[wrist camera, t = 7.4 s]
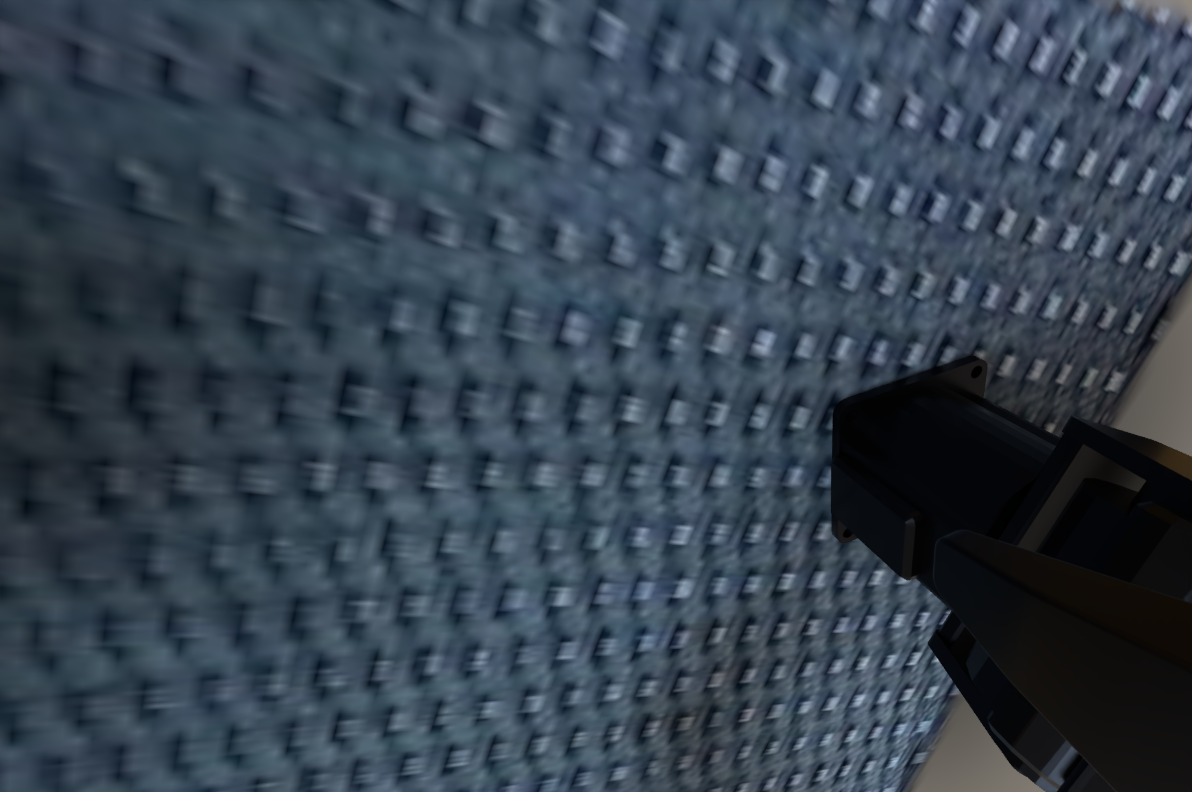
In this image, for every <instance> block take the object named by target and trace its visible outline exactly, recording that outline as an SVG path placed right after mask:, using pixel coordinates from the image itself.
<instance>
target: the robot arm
mask: <svg viewBox="0 0 1192 792" xmlns="http://www.w3.org/2000/svg"><path fill="white" fill-rule="evenodd" d="M986 375H987V363H986V361H984V360H982V359H980V358H978V357H975V356H969V357H966V358H963V359H960V360H957V361H955V362H952V363H949V364H946V365H943V366H940V367H937V368H934V369H931V370H928V371H925V372H922V373H920V374H917V375H914V376H911V377H908V378H905V379H902V380H899V381H896V382H893V383H890V384H888V385H885V386H882V387H879V388H876V389H873V390H870V391H867V392H864V393H861V394H858V395H856V396H853V397H850V398H847V399H844V400H842V401H840V402H839V403H838V404H837V405H836V407H835V409H834V411H833V432H832V464H831V513H832V534H833V535H834V536H835V537H836V538H837V539H838V540H839V541H840V542H842V543H846V542H850V541H852V540H855V539H857V538H858V539H859V540H861V541H862V542H863V543H864V544H865V545H866V546H867V547H868V548H869V549H870V550H871V551H873V552H874V553H875V554H876V555H877V556H878V557H879V558H880V559H881V560H882V561H883V562H885V563H886V564H887V565H888V566H889V567H890V568H891V569H892V570H893V571H894V572H895V573H897V574H898V575H899V576H900V577H902V578H904V579H906V580H911V579H914V578H916V579H917V580H918V581H920V582H921V583H922V584H923V585H924V586H925V587H926V588H927V589H929V590H930V591H931V592H932V593H933V594H934V595H935V596H936V597H937V598H939V599H940V600H941V601H942V602H943V603H944V604H945V605H946V606H948V607H949V608H950V609H951V610H952V611H951V612H950V614H949V616H948V617H947V619H946V620H945V622H944V623H943V625H942V627H941V628H940V629H937V630H935V632H934V633H933V635H932V637H931V638H930V640H929V641H928V645H929V647H930V648H931V650H932V651H933V653H934V654H935V655H936V657H937V658H938V660H939V661H940V663H941V664H942V666H943V667H944V669H945V670H946V672H947V673H948V675H949V676H950V678H951V679H952V680H953V682H954V683H955V685H956V686H957V688H958V689H959V691H960V692H961V694H962V695H963V697H964V698H965V700H966V701H967V702H968V704H969V705H970V707H971V708H972V710H973V711H974V713H975V714H976V716H977V717H978V718H979V720H980V722H981V723H982V724H983V726H984V727H985V729H986V730H987V732H988V733H989V735H990V736H991V738H992V739H993V740H994V742H995V743H996V745H997V746H998V747H999V748H1000V750H1001V751H1002V753H1003V754H1004V756H1005V757H1006V758H1007V760H1008V761H1009V763H1010V764H1011V765H1012V766H1013V768H1014V769H1016V770H1017V771H1018V772H1019V773H1021V774H1023V775H1024V776H1026V777H1028V778H1029V779H1030V780H1031V781H1032V782H1034V783H1035V784H1036V785H1037V786H1039V787H1040V788H1042V789H1043V790H1044V791H1046V792H1192V457H1191V456H1189V455H1187V454H1184V453H1182V452H1180V451H1178V450H1175V449H1173V448H1171V447H1168V446H1166V445H1164V444H1162V443H1159V442H1157V441H1154V440H1151V439H1148V438H1145V437H1142V436H1138V435H1135V434H1131V433H1128V432H1125V431H1122V430H1118V429H1115V428H1112V427H1108V426H1105V425H1102V424H1099V423H1095V422H1092V421H1089V420H1085V419H1082V418H1079V417H1075V416H1072V415H1071V417H1070V419H1069V420H1068V422H1067V423H1066V425H1065V427H1064V428H1063V430H1062V432H1064V435H1063V436H1062V438H1059V437H1057V436H1055V435H1053V434H1052V433H1050V432H1048V431H1046V430H1044V429H1042V428H1040V427H1038V426H1036V425H1034V424H1032V423H1030V422H1028V421H1027V420H1025V419H1023V418H1021V417H1019V416H1017V415H1015V414H1013V413H1011V412H1009V411H1007V410H1005V409H1003V408H1002V407H1000V406H998V405H996V404H994V403H992V402H990V401H988V400H986V399H984V398H983V397H984V389H985V382H986ZM849 411H850V412H849ZM848 412H849V414H848V415H847V416H846V414H847V413H848Z"/></svg>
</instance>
